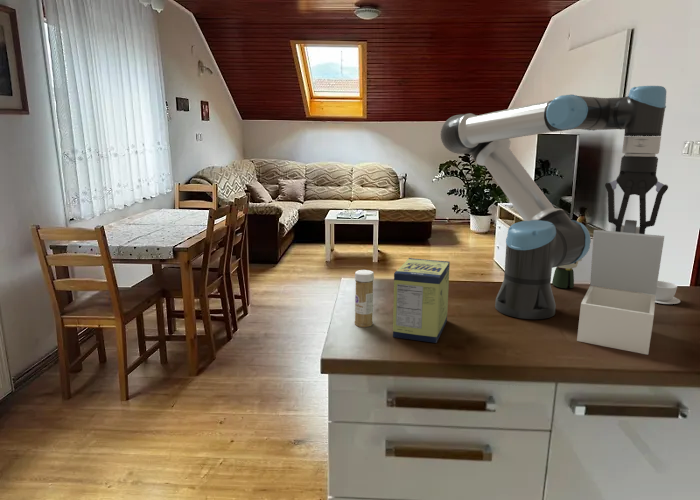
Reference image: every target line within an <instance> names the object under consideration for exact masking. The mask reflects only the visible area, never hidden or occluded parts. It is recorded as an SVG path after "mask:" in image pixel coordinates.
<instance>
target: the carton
mask: <svg viewBox="0 0 700 500" xmlns="http://www.w3.org/2000/svg"><path fill="white" fill-rule="evenodd" d="M655 305H656V302H655V295H651V294H644V293H639V292H632V291H625V290H618V289H611V288H604V287H597V286H589V287H588V289H587V291H586V293H585V295H584V296H583V299H582V300H581V302H580V309H579V318H578V319H579V320H578V327H577V328H578V329H577V335H576V336H577V337H576V341H577V342H580V343H581V342H582V343H585V344H589V345H590V344H591V345H596V346H601V347H606V348H611V349H617V350H622V351H627V352H632V353H636V354H641V355H649V352H650V344H651V340H652V339H651V338H652V332H653V324H654V317H655V308H656V306H655Z"/></svg>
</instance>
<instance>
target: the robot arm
mask: <svg viewBox="0 0 700 500" xmlns="http://www.w3.org/2000/svg"><path fill="white" fill-rule="evenodd" d="M666 103H667V88H666V87H664V86H662V85H641V86H640V85H639V86H634V87H631V88H630V89H629V93H628V95H627V96H623V97H598V96H597V97H596V96H595V97H594V96H583V95H576V94H563V95H559V96H556V97H555V98H553V100H552V99H551V100H547V101H541V102H537V103H531V104H527V105H522V106H516V107H511V108H507V109H503V110H497V111H492V112H488V113H484V114H479V115H478V114H474V113H470V112H469V113H465V114H464V113H463V114H456V115H452V116H451V117H449V118H448V119H446V121H445V122H444V123H443V124H442V127H441V128H440V129H441V130H440V140H441V143H442V145H443V146H444V148H445V149H446V150H447V151H449V152H450V153H454V154H457V155H468V154H469V155H470V156H471V157H472V159H473V160H474V161H475V162H476V164H477V165H478V166H483V167H485V168H486V169H487V171H488V172H489V173H490V175H491V176H492V178H493V179H494V181H495V182H496V183H497V185H498V186H499V188H500V189H501V190H502V192H503V193H504V195H505V196H506V198H507V199H508V201H510V203H511V204H512V205H513V208H514V209H515V210H516V211H517V213H518V214H519V216H520V217H521V219H523V220H522V221H518V222H515V223H513V224H511V225H509V227H508V229H507V235H506V238H505V260H504V262H505V263H504V273H503V274H504V275H503V281H502V283H501V286H500V289H499V290H498V293H497V294H496V297H495V301H494V302H495V305H494V307H495V309H496V311H498V312H499V313H501V314H503V315H506V316H509V317H513V318H518V319H524V320H544V319H549V318H551V317H553V316H555V314H556V307H557V306H556V302H555V297H554V294H553V290H552V281H551V280H552V273H553V272H552V271H553V268H557V267H558V266H562V265H569V264H573V263H575V262H577V261H579V260H581V259H582V260H583V259H584V258H585V257H586V256H587V254H588V252H589V251H590V247H591V242H592V241H591V235H590V231H589V230H588V228H587V227H586V225H584V224H583V223H582V222H580V221H577V220H574V219H571V218H570V217H569V215H568V214H567V213H566V211H565V210H564V209H562V208H555V207H554V206H553V204H552V203H551V202H550V200H549V199H548V198H547V197H546V194H544V192H543V191H542V190H541V189H540V187H539V186H538V184H537V182H535V180H534V178H532V177H531V175H530V174H529V172H528V171H527V170H526V168H525V167H524V165H522V163H521V162H520V161H519V160H518V158H517V157H516V155H515V153H513V151H512V150H511V149H510V146H511V140H510V139H514V138H523V137H526V136H527V137H529V136H535V135H541V134H548V133H557V132H565V131H570V130H585V131H586V130H587V131H601V130H602V131H603V130H604V131H606V130H624V134H623V135H624V136H623V143H622V150H621V153H622V154H624V155H623V156H622V157H621V160H620V168H619V174H618V176H617V177H616V179H614V180H611V181H608V182H606V183H605V186H604V187H605V189H606V191H607V217H608V219H607V220H608V223H609V224H613V225H615V231H614V232H623V229H624V225H625V224H623V223H624V218H625V214H626V212H627V208H628V204H629V201H630V196H632V195H636V196H639V199H638V200H639V226H636V232H635V233H637V234H646V229H647V228H649V227H654V226H655V224H656V222H657V218H658V214H659V210H660V206H661V203H662V200H663V196H664V195H665V193H666V192H667V190H669V185H668V184H663V183H662V182H660V181H659V179H658V177H657V171H658V170H657V169H658V163H659V158H658V156H656V155H658V154H659V153H660V149H661V148H660V147H661V140H662V131H663V123H664V117H665V110H666V108H667V105H666ZM617 185H618V187H620V189H621V191H622V192H623V197H622V201H621V204H620V208H619V212H618V215H617V218H616V217H615V211H616V210H615V209H616V208H615V206H616V205H615V190H616V189H617ZM654 187H655V191H656V196H655V200H654V203H653V207H652V211H651V214H650V216H649V220H647V200H646V199H647V194H648V193H649V191H650V190H652V189H653V188H654Z"/></svg>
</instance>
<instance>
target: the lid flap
mask: <svg viewBox="0 0 700 500" xmlns="http://www.w3.org/2000/svg"><path fill="white" fill-rule="evenodd" d="M637 224H638V221H637V220H633V219H625V220H624V224H623V225H624V229H623V232H615V231H612V230H611V231H610V230H602V229H601V230H599V229H593V236H592V251H591V266H590V283H589V285H590V286H594V287H601V288H608V289H615V290H622V291H629V292H637V293H646V294H654V295H656V288H657V282H658V281H659V275H660V268H661V262H662V255H663V248H664V243H665V235H659V234H658V235H657V234H648V233H647V234H646V233H645V234H637V233H635V232H636V227H637ZM590 286H589V287H590Z"/></svg>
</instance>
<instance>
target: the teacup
mask: <svg viewBox="0 0 700 500" xmlns="http://www.w3.org/2000/svg"><path fill="white" fill-rule="evenodd" d="M677 289H678V285H677V284H675V283H672V282H669V281H664V280H663V281H662V280H658V282H657V288H656V295H655V304H657V303H658V304H661V305H662V304H663V305H673V304H674V305H675V304H680V303H681V299H679V298H677V297H675V295H676V292H677ZM644 294H646V293H644ZM651 295H654V294H651Z"/></svg>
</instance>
